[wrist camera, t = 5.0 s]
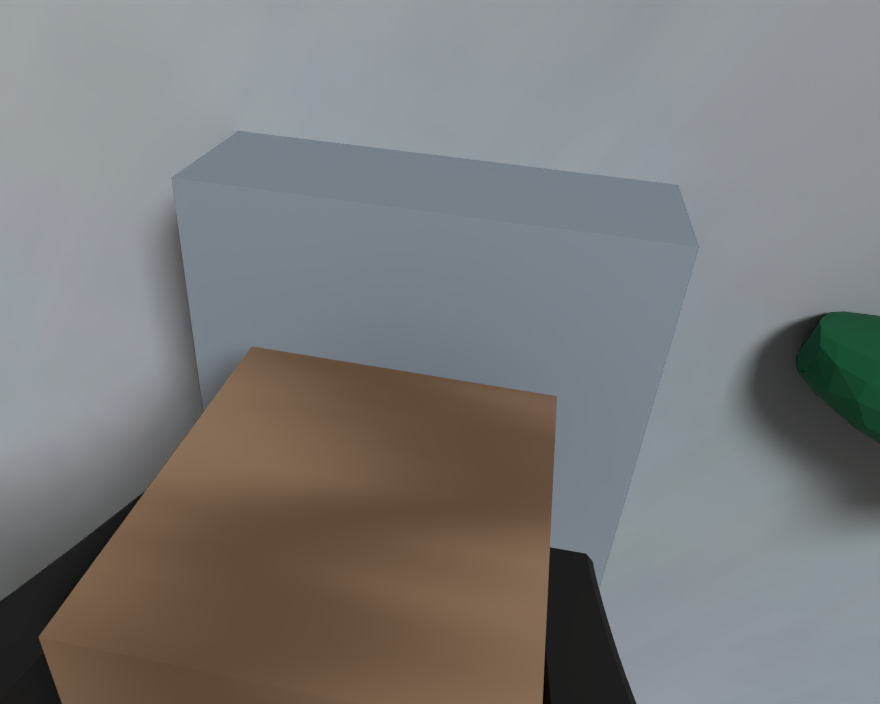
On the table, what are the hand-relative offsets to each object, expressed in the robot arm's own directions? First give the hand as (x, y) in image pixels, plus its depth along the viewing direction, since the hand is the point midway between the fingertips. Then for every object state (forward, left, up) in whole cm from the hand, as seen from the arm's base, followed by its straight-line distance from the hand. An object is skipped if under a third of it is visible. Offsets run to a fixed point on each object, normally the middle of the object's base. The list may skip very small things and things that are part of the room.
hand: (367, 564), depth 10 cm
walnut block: (0, 0, -2) cm, 2 cm away
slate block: (0, 0, -6) cm, 6 cm away
